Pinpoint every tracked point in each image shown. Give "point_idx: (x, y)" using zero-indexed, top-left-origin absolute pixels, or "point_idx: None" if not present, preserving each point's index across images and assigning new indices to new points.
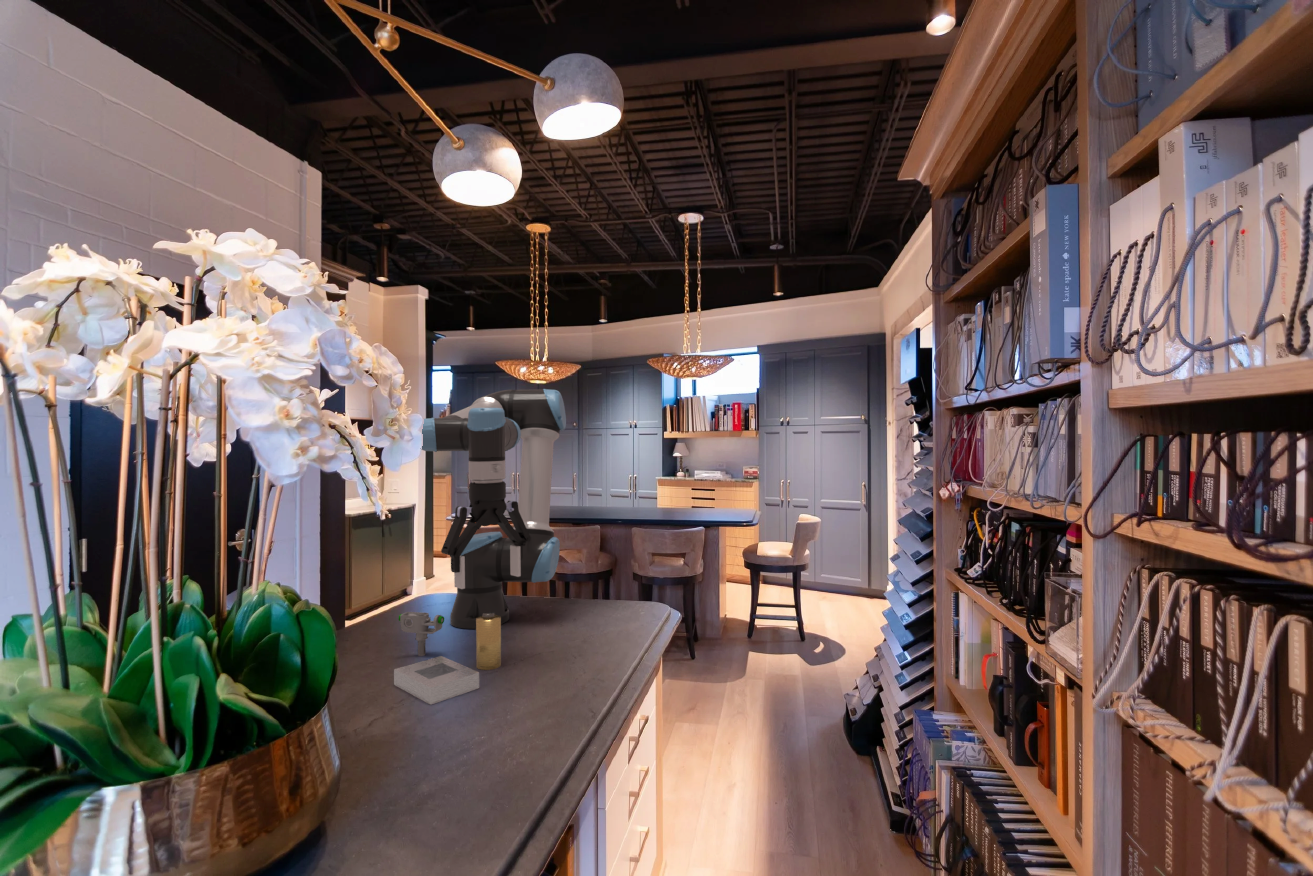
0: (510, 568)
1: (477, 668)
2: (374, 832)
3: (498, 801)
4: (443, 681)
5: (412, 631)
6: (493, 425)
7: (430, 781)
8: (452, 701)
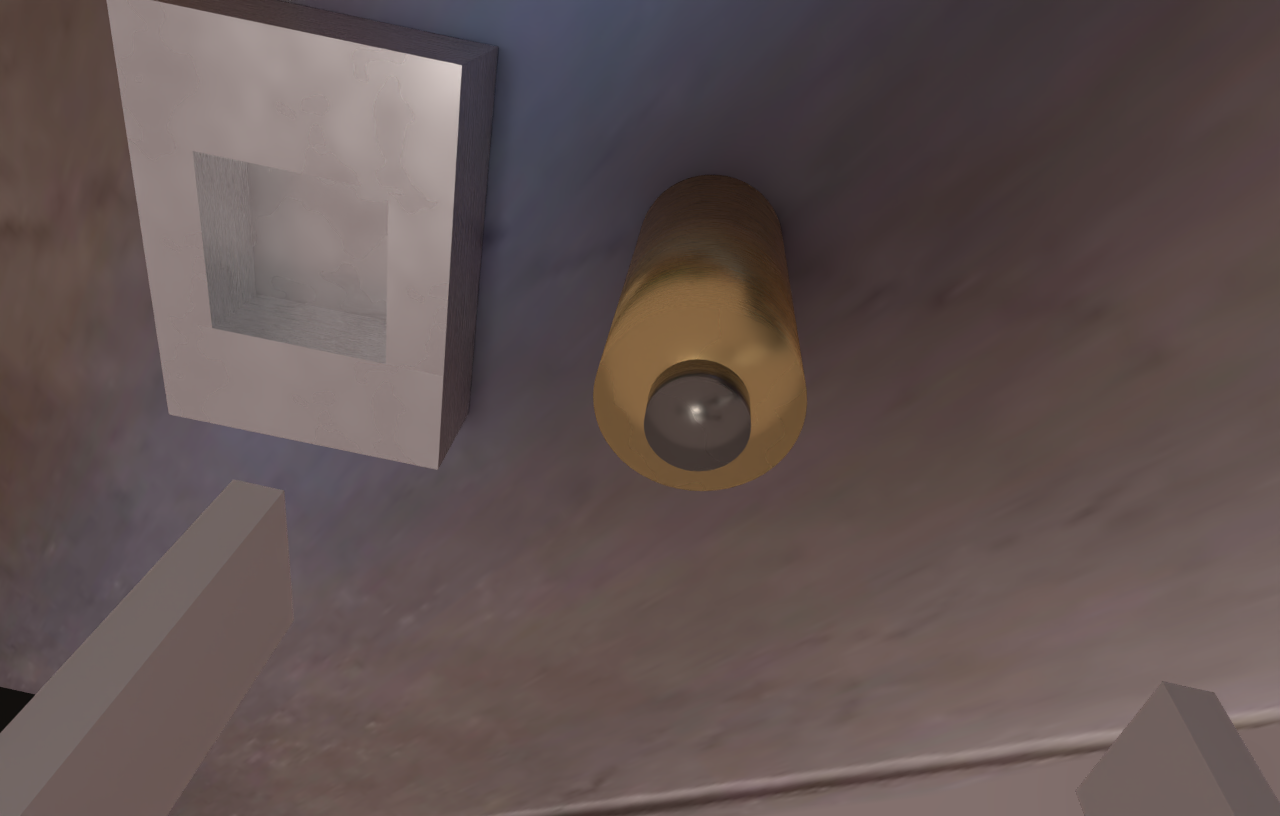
0: (1206, 774)
1: (641, 228)
2: None
3: None
4: (251, 408)
5: None
6: None
7: (49, 665)
8: None
